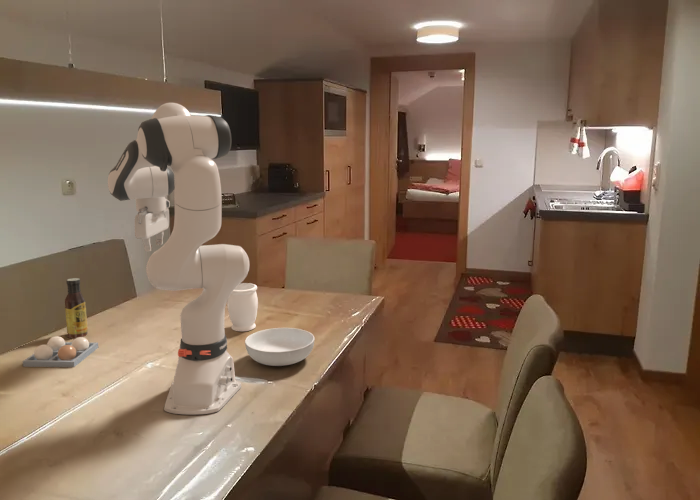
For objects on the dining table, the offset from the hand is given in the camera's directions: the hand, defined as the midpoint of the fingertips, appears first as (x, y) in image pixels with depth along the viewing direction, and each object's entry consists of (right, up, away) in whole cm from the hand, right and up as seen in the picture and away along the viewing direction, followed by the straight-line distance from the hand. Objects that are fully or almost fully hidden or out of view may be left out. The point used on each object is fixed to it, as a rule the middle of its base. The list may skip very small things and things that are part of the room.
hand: (154, 247), depth 183 cm
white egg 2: (-28, -32, -5) cm, 43 cm away
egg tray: (-25, -34, -9) cm, 43 cm away
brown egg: (-22, -34, -13) cm, 42 cm away
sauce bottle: (-29, -30, +9) cm, 43 cm away
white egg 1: (-29, -34, -12) cm, 46 cm away
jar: (+25, -28, +18) cm, 42 cm away
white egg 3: (-21, -32, -6) cm, 39 cm away
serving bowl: (+42, -34, -10) cm, 55 cm away
